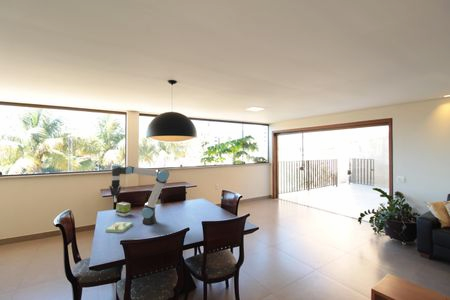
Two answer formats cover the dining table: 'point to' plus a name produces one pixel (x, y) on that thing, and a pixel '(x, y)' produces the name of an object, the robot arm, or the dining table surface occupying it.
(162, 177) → the robot arm
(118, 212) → the tea box
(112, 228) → the putting mat
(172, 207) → the dining table surface
